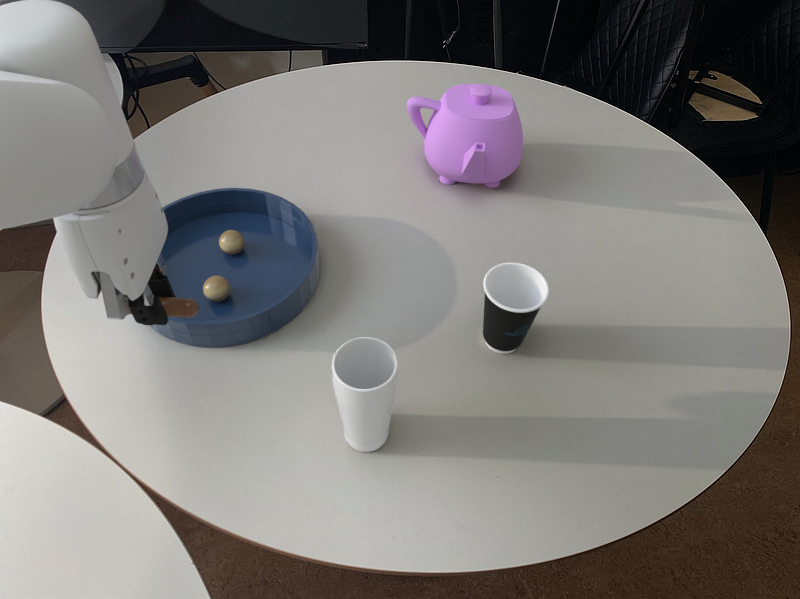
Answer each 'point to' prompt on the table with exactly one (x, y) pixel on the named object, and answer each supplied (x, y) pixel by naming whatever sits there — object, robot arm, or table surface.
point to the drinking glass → (365, 390)
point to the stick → (179, 307)
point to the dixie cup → (511, 304)
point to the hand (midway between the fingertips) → (156, 311)
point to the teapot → (471, 134)
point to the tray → (238, 265)
